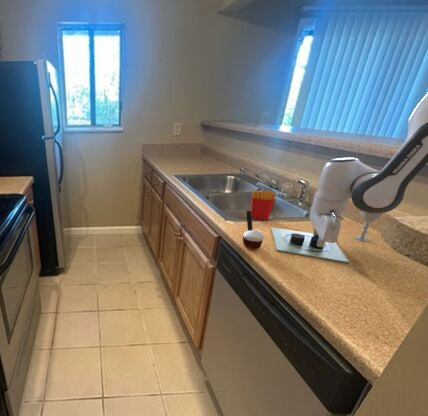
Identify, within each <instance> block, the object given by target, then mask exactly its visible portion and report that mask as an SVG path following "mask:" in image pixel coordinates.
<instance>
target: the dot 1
mask: <svg viewBox="0 0 428 416" xmlns="http://www.w3.org/2000/svg"><path fill="white" fill-rule="evenodd" d="M304 239H305V236H303V235H301V234H296V233H294V234H292V235H291V239H290V243H291V244H293V245H297V246H302V245H303V242H304Z"/></svg>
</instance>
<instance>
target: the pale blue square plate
mask: <svg viewBox="0 0 428 416" xmlns="http://www.w3.org/2000/svg"><path fill="white" fill-rule="evenodd" d="M270 230H271V235H272V238H273V239H272V240H273V242H274V247H275V251H276V252H280V253H285V254H286V253H287V254H291V255H298V256H304V257H310V258H314V259H320V260H327V261H332V262H336V263H337V262H338V263H344V264H350V261H349V259H348V258H347V256H346V255H345V253H344V252H343V251H342V249H341V247H340V245H338V243H337V241H336V242H335V243H329V242H325V244H324V247H323V249H316V248H313V247H311V246H310V245H309V244H310V241H311V237H313V234H314V232H307V231H300V230H295V229H294V230H292V229H286V228H279V227H273V226H271V227H270ZM294 233H296V234H301V235H303V236H305V239H304V242H303V245H302V246H297V245H293V244H291V243H290V239H291V235H292V234H294Z"/></svg>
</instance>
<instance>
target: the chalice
mask: <svg viewBox="0 0 428 416" xmlns="http://www.w3.org/2000/svg"><path fill="white" fill-rule="evenodd" d="M360 211H361V213H360V214H361V217H362V220H363V221H364V222H365V224H364V225H362V227H363V229H362V230H361V231H360V232H361V235H357V236H355V237H354V239H355V240H357V241H360V242H369V239H368V238H367V237H366V234H368V229H369V228H370V223H374V222H375V221H377V220H378V219H379V218H380V217H381V216H382V215H383V214H384V213H378V214H374V213H367V212H364V211H362V210H360Z"/></svg>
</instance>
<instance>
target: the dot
mask: <svg viewBox="0 0 428 416" xmlns="http://www.w3.org/2000/svg"><path fill="white" fill-rule="evenodd" d="M318 239H319V237H316V236H313V237H311V241H310V244H309V245H310V246H311V247H313V248H316V249H323V247H324V246H323V247H318V246H317V245H316V243H317V240H318ZM324 244H325V243H324Z"/></svg>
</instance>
